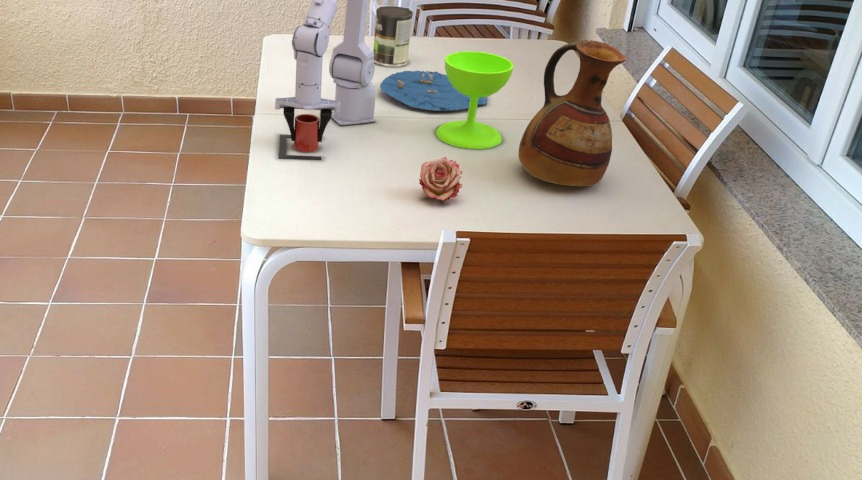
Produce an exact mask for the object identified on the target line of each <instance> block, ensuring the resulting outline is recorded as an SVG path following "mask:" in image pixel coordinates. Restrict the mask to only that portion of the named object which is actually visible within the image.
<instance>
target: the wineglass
mask: <svg viewBox="0 0 862 480" xmlns="http://www.w3.org/2000/svg"><path fill="white" fill-rule="evenodd" d="M514 66H515V65H514V63H513V62H512V61H511V60H510V59H509V58H506V57H504V56H502V55H498V54H495V53H489V52H484V51H483V52H482V51H467V50H466V51H456V52H453V53H449V54H447V55H446V56H445V57H444V70H445V75H447V77H448V79H449V81H450V83H451V84H452V86H453V87H454V88H455V89H456V90H458V91H459V92H460V93H461V94H464V95H466V96H469V97H470V103H469V108H468V109H467V110H468V111H467V118H466V120H452V121H449V122H445V123H443V124H441V125H440V126H439V127H437V129H436V132H435V135H436V138H438V139H439V141H441V142H444V143H445V144H447V145H450V146H452V147H457V148H461V149H468V150H484V149H491V148H494V147H497V146H498V145H500V144H501V143H502V139H503V137H502V135H501V133H500V132H499V131H498V130H497V129H496V128H495V127H493V126H491V125H488V124H486V123H482V122H478V121H476V117H477V116H476V115H477V110H478V105H477V103H478V98H481V97H487V98H488V97H490V96H492V95H494V94H496V93H498V92H499V91H500V90H501V89H502V88H504V87H505V86H506V85H507V83H508V81H510V79H511V76H512V73H513V70H514Z"/></svg>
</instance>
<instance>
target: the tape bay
mask: <svg viewBox="0 0 862 480" xmlns="http://www.w3.org/2000/svg"><path fill="white" fill-rule="evenodd" d="M287 139H291V134H279V143H278V145H279V146H278V159H280V160H281V159H282V160H283V159H284V160H305V161H307V160H309V161H322V156H317V155H316V156H315V155H292V154H291V155H290V154H287Z"/></svg>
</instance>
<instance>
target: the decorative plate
mask: <svg viewBox="0 0 862 480" xmlns="http://www.w3.org/2000/svg"><path fill="white" fill-rule="evenodd" d="M379 87H380V88H379V89H380V91H382V92H383V93H385V94H387V95H389V96H390V97H392V98H394V100H397V101H399V102H400V103H403V104H405V105H408V106H409V107H410V108H414V109H421V110H426V111H436V112H437V111H439V112H443V111H447V112H449V111H451V112H453V111H461V110H469V103H470V97H469V96H466V95H464V94H461V93H460V92H459V91H458V90H456V89H455V88H454V87H453V86H452V84H451V83H450V81H449V79H448V77H447V74H444V73H441V72H439V71H429V70H426V71H424V70H403V71H397V72H395V73H391V74H390V75H389V76H387V77H385V78H384V79H383V80H382V81H381V83H380V84H379ZM483 105H488V97H481V98H478V103H477V106H483Z"/></svg>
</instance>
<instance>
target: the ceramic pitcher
mask: <svg viewBox="0 0 862 480" xmlns="http://www.w3.org/2000/svg"><path fill="white" fill-rule="evenodd" d="M569 51H575V52H576V53H578V57H579V71H578V74H577V76H576V79H575V81H574V83H573V85H572V87H571V89H570V90H569V91H568V92H567V93H566V94H563V95H558V94H557V93H556V91H555V71H556V67H557V65H558V63H559V62H560V60H561V59H562V57H563V56H564V55H565V54H566V53H567V52H569ZM626 60H627V57H626V56H625V55H624V54H623V53H621V52H620V50H619V49H617V48H616V47H614V46H612V45H610V44H608V43H606V42H602V41H598V40H593V39H590V40H587V39H583V40H582V39H581V40H578V41H575V42H570V43H567V44H563V45H562V46H559V48H557V49H556V50H555V51H554V52H553V53H552V55H551V56H550V58H549V60H548V62H547V63H546V66H545V68H544V73H543V90H544V103H543V106H542V107H541V108H540V109H539V111H537V112H536V113H535V115H534V116H533V118H531V120H530V121H529V123H528V124H527V125H526V128H525V130H524V132H523V134H522V137H521V139H520V142H519V145H518V161H519V163H520V164H521V166H522V167H523V168H524V169H525V171H526V172H527V173H528V174H529V175H530V176H532V177H534V178H536V179H538V180H540V181H542V182H547V183H551V184H555V185H560V186H561V185H562V186H567V187H569V186H570V187H585V186H587V187H589V186H594V185H596V184H598V183H600V182H601V180H602V179H603V178H604V175H605V174H606V171H607V170H608V167H609V164H610V161H611V157H612V152H613V131H612V130H613V129H612V124H611V121H610V117H609V115H608V114H607V112H606V110H605V109H604V108H603V106H602V98H603V97H602V96H603V91H604V88H605V87H606V85H607V83H608V79H609V77H610V74H611V72H612V71H613V70H614V69H615V68H616V67H617V66H619V65H621V64H623V63H625V62H626Z"/></svg>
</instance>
